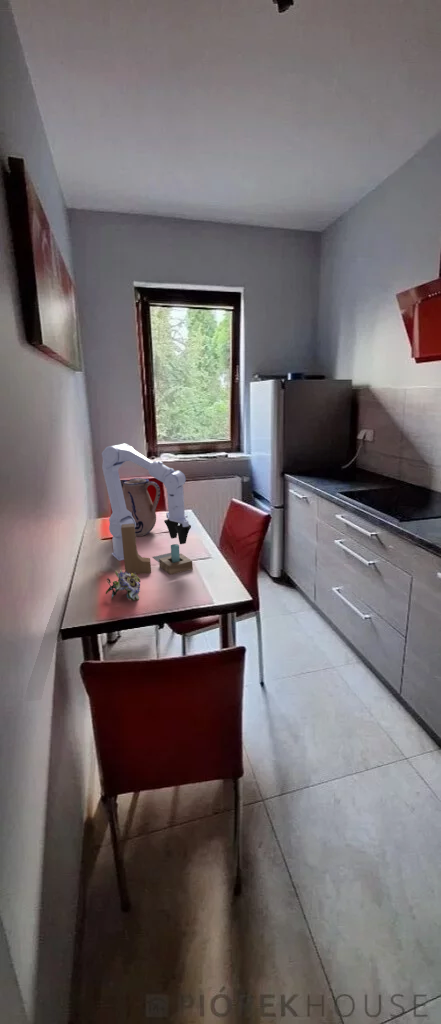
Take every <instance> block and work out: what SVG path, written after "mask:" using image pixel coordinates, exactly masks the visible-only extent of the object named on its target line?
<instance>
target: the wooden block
mask: <svg viewBox="0 0 441 1024" xmlns="http://www.w3.org/2000/svg"><path fill="white" fill-rule="evenodd" d="M121 532H122V543H123V554H124V560H123V563H124V572H125V573H126V572H127V573H130V574H131V573H133V574H134V572H135V573H136V575H142V574H143V575H144V574H151V573H152V566H151V565H152V563H151V558H150V557H145V556H144V557H143V556H142V555H140V554H139V552H138V549H137V538H136V537H137V536H135V524H122V526H121Z"/></svg>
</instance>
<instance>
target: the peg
mask: <svg viewBox="0 0 441 1024" xmlns="http://www.w3.org/2000/svg"><path fill="white" fill-rule="evenodd" d="M170 553H171V559H172V563H175V562H179V561H180V554H181V553H180V545H179V544H177V543H176V544H174V543H173V544H171V545H170Z"/></svg>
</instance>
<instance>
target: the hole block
mask: <svg viewBox="0 0 441 1024" xmlns="http://www.w3.org/2000/svg"><path fill="white" fill-rule="evenodd" d="M158 565H159V568H160V569H162V570H163V571H165V573H167V574H168V575H175V574H179V573H182V572H186V571H190V570H191V571H192V570H193V569H194V568H193V560H192V559H190V558H188V557H187V556H185V555H184V554H183V553H180V561H179V562H175V563H172V559H171V556H168V557H164V558H160V559H159V562H158Z"/></svg>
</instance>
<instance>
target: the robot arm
mask: <svg viewBox="0 0 441 1024" xmlns="http://www.w3.org/2000/svg"><path fill="white" fill-rule="evenodd" d="M101 458H102V465H101V466H102V467H101V468H102V472H103V477H104V482H105V485H106V489H107V495H108V499H109V502H110V508H111V512H112V513H111V515H110V516H109V518H108V521H109V522H108V523H109V527H108V530H109V532H110V534H111V536H112V547H113V552H111V553H110V554H111V555H112V556H114V558H115V559H116V560H118V561H119V562H120V561H124V554H123V543H122V532H121V526H122V524H135V527H136V522H135V520H134V518H133V517H132V513H131V512H130V511H128V510H127V508H126V504H125V499H124V495H123V490H122V486H121V478H120V472H119V469H120V468H121V467H122V465H123V464H125V462H132V463H133V464H136V465H137V466H140V467H141V468H143V469H145V470H147V471H148V475H149V476H151V477H152V478H154V479H156V480H158V481H160V482H161V483H162V484H163V485H164V487H165V488H166V493H167V504H168V505H167V506H168V509H167V510H168V512H166V513H165V514H166V515H165V517H166V518H167V519H164V520H163V523H164V524H165V525H166V527H167V530H168V533H169V536H170V538H171V539H176V538H177V536H178V542H179V544H180V545H184V544H186V543H187V539H188V534H189V531H190V529H191V528H192V525H191V524H190V523H189V520H187V518H188V515H187V514H185V497H184V496H185V495H184V485H185V484H186V483H187V481H186V480H187V477H186V475H185V473H184V472H182V471H181V470H175V469H174V468H173V467H169V466H167V465H165V464H164V462H163V461H161V460H159V461H158V460H156V461H152V460H151V459H149V458H147V457H146V456H145V455H143V454H142V453H140V452H139V451H137V450H136V449H134V447H133V446H131V445H129V444H128V443H119V444H114V445H109V446H108V445H107V446H106V447H105V448H104V450H102V452H101Z"/></svg>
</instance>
